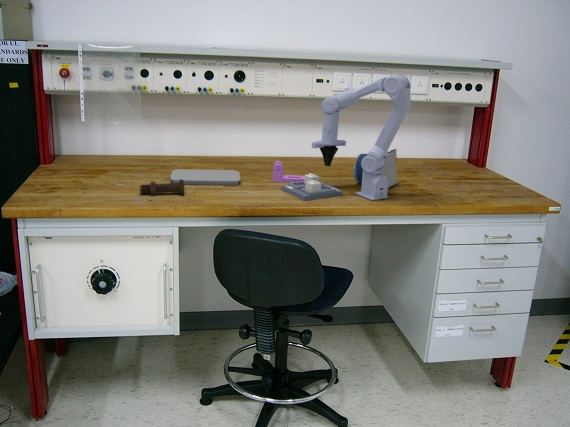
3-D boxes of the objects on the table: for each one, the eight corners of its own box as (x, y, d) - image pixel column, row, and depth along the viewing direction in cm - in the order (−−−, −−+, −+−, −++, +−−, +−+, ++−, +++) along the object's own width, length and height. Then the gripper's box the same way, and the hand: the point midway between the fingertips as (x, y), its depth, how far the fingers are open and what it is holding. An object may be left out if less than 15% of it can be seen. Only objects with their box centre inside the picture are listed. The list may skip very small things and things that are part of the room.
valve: (398, 183, 225) (397, 145, 221) (381, 191, 213) (380, 151, 209) (367, 182, 232) (366, 145, 229) (350, 189, 220) (349, 150, 217)
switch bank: (342, 195, 207) (343, 188, 206) (304, 200, 198) (304, 194, 197) (318, 184, 219) (318, 178, 218) (281, 189, 210) (281, 183, 209)
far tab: (318, 184, 212) (319, 175, 210) (309, 185, 210) (310, 176, 208) (312, 182, 215) (313, 172, 214) (303, 183, 213) (304, 173, 211)
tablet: (240, 186, 212) (240, 181, 212) (170, 186, 209) (169, 180, 208) (238, 175, 228) (238, 170, 227) (172, 174, 224) (172, 169, 223)
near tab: (320, 191, 203) (321, 181, 201) (311, 193, 201) (312, 182, 199) (314, 189, 206) (314, 178, 205) (305, 190, 204) (305, 180, 203)
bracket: (273, 181, 221) (274, 164, 218) (272, 178, 226) (273, 161, 224) (306, 182, 221) (307, 165, 219) (305, 179, 227) (306, 162, 224)
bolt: (140, 199, 197) (184, 197, 200) (139, 195, 192) (184, 193, 195) (139, 182, 198) (183, 181, 201) (139, 179, 193) (183, 177, 196)
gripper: (339, 126, 216) (336, 161, 221) (307, 128, 209) (305, 164, 213) (350, 130, 211) (347, 165, 215) (319, 132, 203) (316, 169, 208)
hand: (327, 165), depth 214 cm, fingers closed
